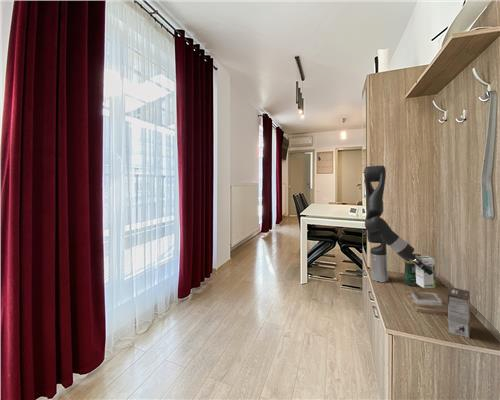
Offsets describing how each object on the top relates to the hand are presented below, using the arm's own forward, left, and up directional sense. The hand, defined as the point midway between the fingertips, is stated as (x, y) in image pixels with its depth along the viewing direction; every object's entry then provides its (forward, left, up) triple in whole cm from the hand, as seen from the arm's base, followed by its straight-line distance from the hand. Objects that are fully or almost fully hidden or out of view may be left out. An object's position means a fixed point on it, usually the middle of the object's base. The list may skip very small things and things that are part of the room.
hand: (428, 271), depth 116 cm
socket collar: (0, -1, -16) cm, 16 cm away
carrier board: (-2, 0, -18) cm, 18 cm away
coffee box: (+20, +5, -18) cm, 27 cm away
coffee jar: (-27, 0, -18) cm, 32 cm away
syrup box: (0, -2, -8) cm, 8 cm away
